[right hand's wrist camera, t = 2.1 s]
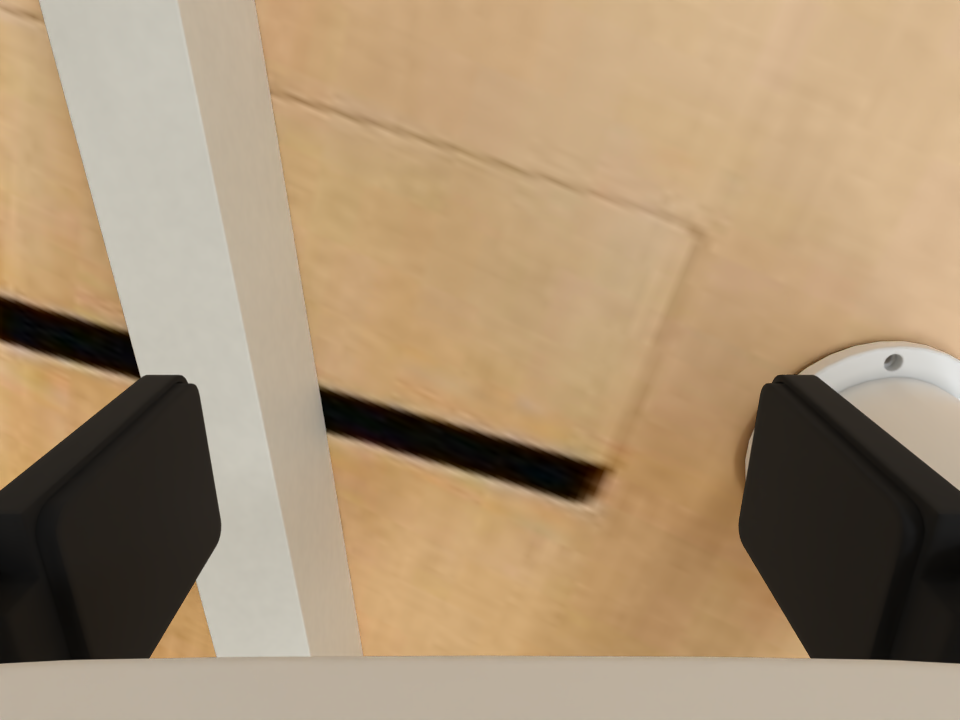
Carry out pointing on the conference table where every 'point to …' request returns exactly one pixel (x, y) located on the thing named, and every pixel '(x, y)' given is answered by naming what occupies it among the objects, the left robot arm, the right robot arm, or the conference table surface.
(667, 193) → the conference table surface
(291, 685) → the right robot arm
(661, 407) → the conference table surface
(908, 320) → the conference table surface
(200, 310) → the bar
